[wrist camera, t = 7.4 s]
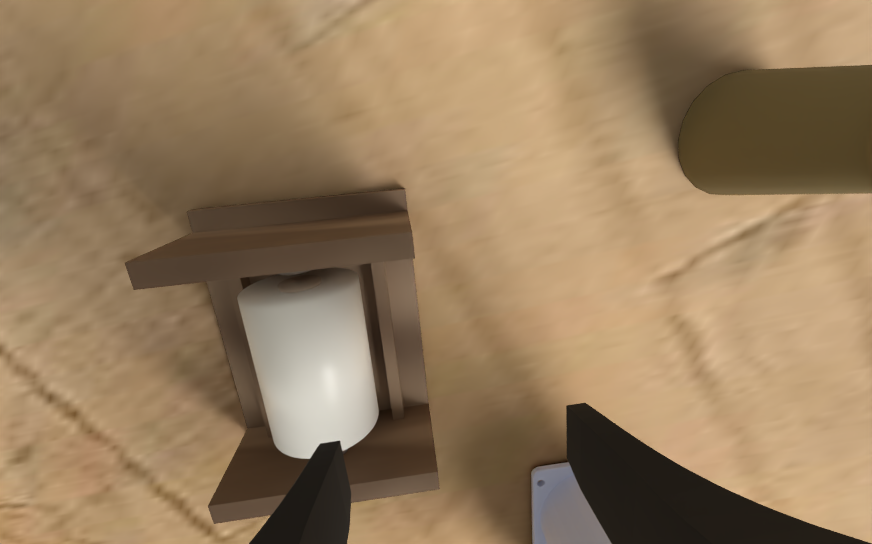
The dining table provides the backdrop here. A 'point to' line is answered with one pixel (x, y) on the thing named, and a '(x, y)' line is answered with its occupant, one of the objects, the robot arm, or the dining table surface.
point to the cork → (781, 132)
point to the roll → (311, 358)
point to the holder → (384, 316)
